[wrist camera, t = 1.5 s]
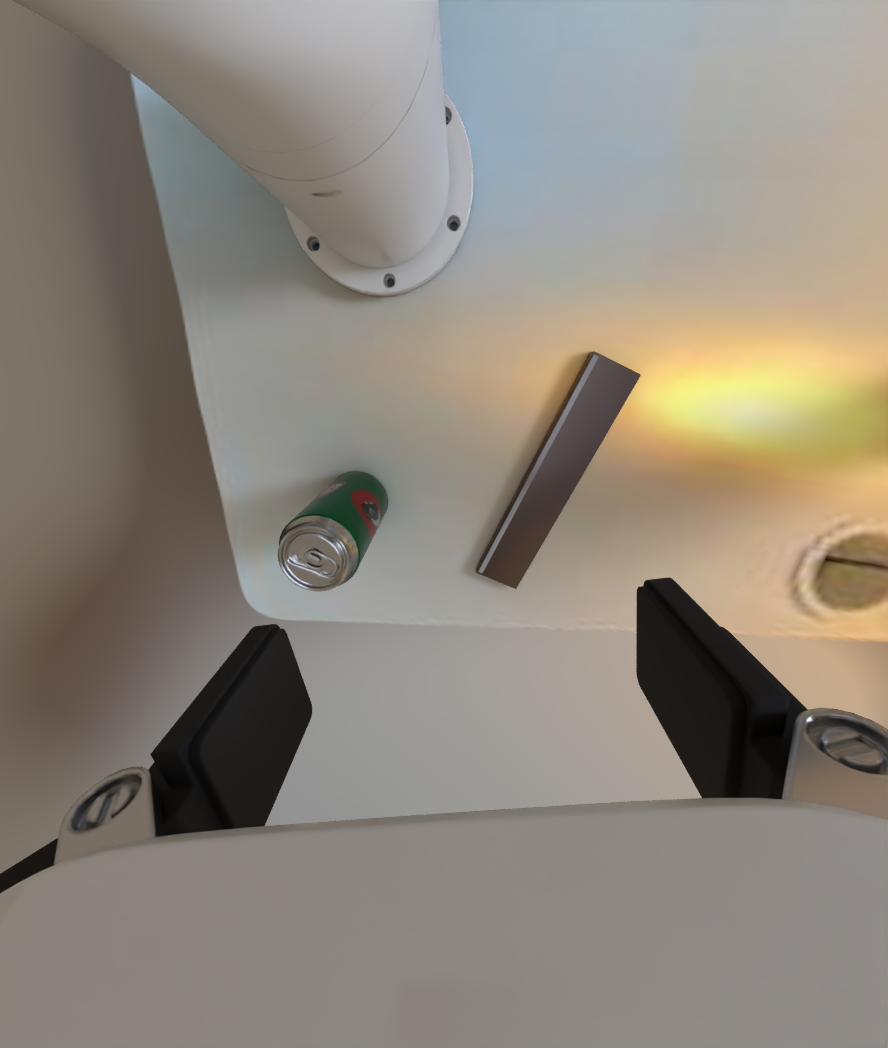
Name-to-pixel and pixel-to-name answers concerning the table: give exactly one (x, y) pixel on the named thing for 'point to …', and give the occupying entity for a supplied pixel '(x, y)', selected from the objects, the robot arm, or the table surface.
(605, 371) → the ruler
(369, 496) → the soda can
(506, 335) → the table surface
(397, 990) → the robot arm
